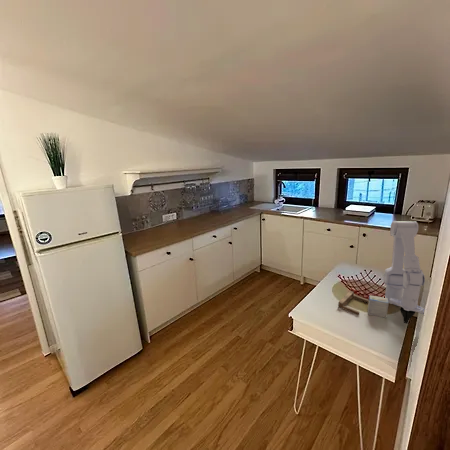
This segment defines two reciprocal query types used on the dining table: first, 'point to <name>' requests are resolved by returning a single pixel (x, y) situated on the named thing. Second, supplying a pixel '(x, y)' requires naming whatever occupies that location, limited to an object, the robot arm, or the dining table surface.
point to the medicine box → (378, 306)
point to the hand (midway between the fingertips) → (406, 322)
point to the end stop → (348, 298)
